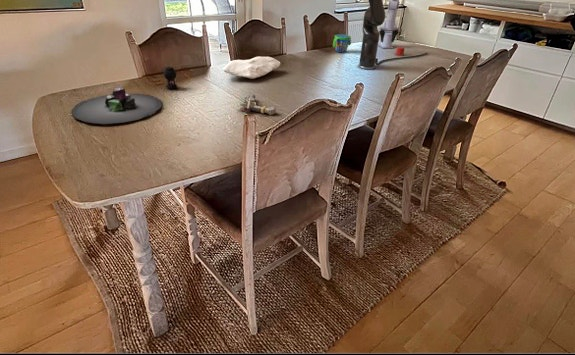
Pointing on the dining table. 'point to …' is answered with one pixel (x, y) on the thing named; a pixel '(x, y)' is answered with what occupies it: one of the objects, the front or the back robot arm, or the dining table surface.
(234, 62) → the crumpled cloth
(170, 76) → the gumball machine
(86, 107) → the dark grey serving platter
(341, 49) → the snack cup
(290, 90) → the dining table surface
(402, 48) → the red cube
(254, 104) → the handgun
